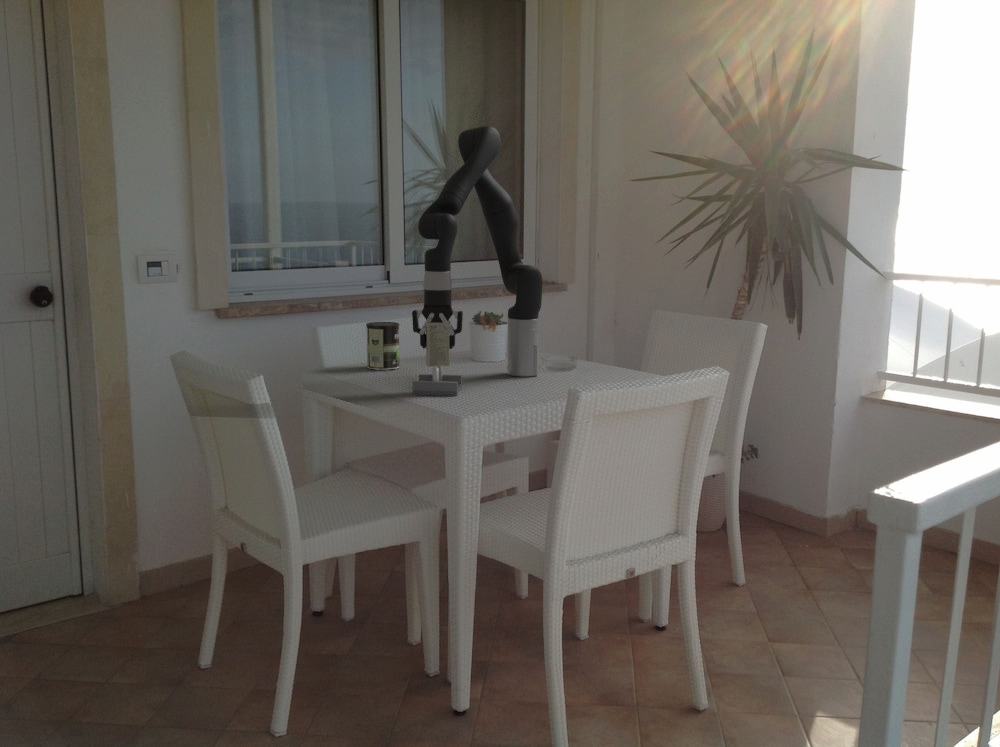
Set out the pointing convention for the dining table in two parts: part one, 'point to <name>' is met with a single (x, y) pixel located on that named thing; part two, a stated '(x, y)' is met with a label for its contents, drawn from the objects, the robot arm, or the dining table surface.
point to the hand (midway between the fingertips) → (437, 348)
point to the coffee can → (382, 345)
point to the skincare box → (437, 344)
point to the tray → (437, 383)
